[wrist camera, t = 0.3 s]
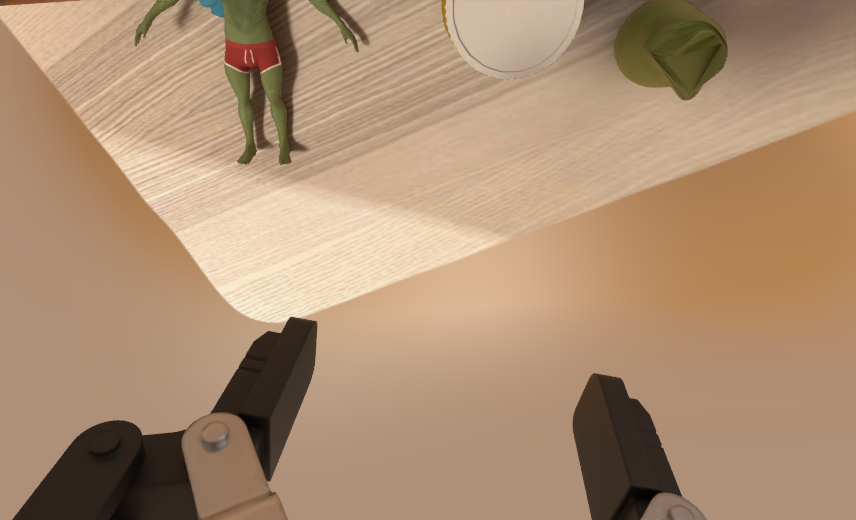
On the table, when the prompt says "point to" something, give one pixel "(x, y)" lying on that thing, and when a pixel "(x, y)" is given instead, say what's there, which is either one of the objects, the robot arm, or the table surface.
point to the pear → (670, 47)
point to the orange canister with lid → (28, 1)
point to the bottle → (511, 33)
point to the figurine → (251, 59)
